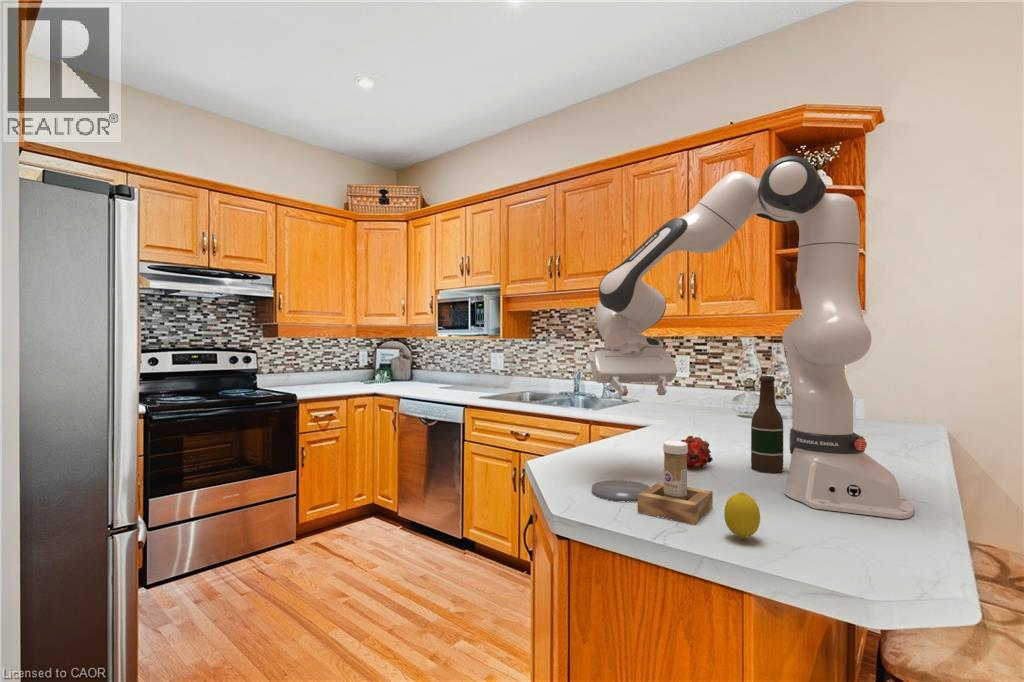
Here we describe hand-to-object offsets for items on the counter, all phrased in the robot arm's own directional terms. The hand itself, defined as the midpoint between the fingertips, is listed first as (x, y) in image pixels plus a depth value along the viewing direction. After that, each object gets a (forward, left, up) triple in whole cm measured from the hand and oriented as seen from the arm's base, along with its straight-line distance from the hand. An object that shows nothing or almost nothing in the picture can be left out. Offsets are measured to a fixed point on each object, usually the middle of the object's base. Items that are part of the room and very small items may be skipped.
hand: (643, 394), depth 116 cm
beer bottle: (-19, -34, -21) cm, 44 cm away
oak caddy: (-11, +11, -21) cm, 26 cm away
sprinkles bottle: (-11, +11, -21) cm, 26 cm away
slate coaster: (+3, +6, -21) cm, 22 cm away
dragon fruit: (-3, -26, -21) cm, 34 cm away
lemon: (-25, +18, -21) cm, 38 cm away
